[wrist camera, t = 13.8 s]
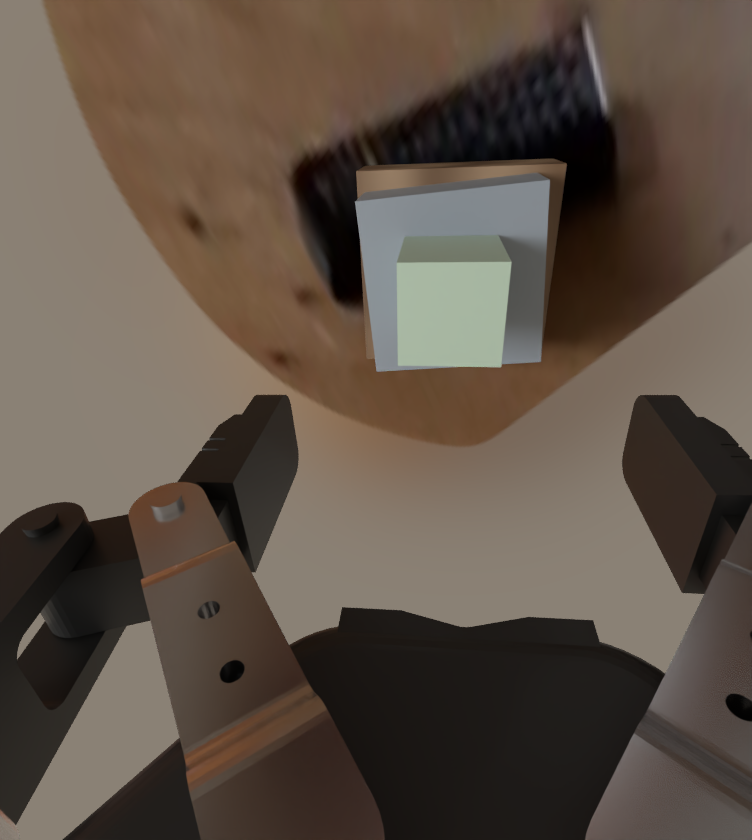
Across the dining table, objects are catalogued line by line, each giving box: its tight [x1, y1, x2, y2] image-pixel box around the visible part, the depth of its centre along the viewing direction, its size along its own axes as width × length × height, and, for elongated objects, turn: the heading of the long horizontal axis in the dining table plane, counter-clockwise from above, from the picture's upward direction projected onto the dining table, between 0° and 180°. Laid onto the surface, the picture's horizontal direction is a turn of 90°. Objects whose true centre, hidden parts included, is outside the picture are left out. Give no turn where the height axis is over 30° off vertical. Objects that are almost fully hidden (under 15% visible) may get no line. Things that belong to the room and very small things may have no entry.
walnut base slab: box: [356, 159, 567, 359], centre depth 34 cm, size 12×12×4 cm
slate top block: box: [355, 173, 550, 372], centre depth 31 cm, size 10×10×4 cm
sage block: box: [397, 235, 512, 367], centre depth 26 cm, size 5×5×6 cm
